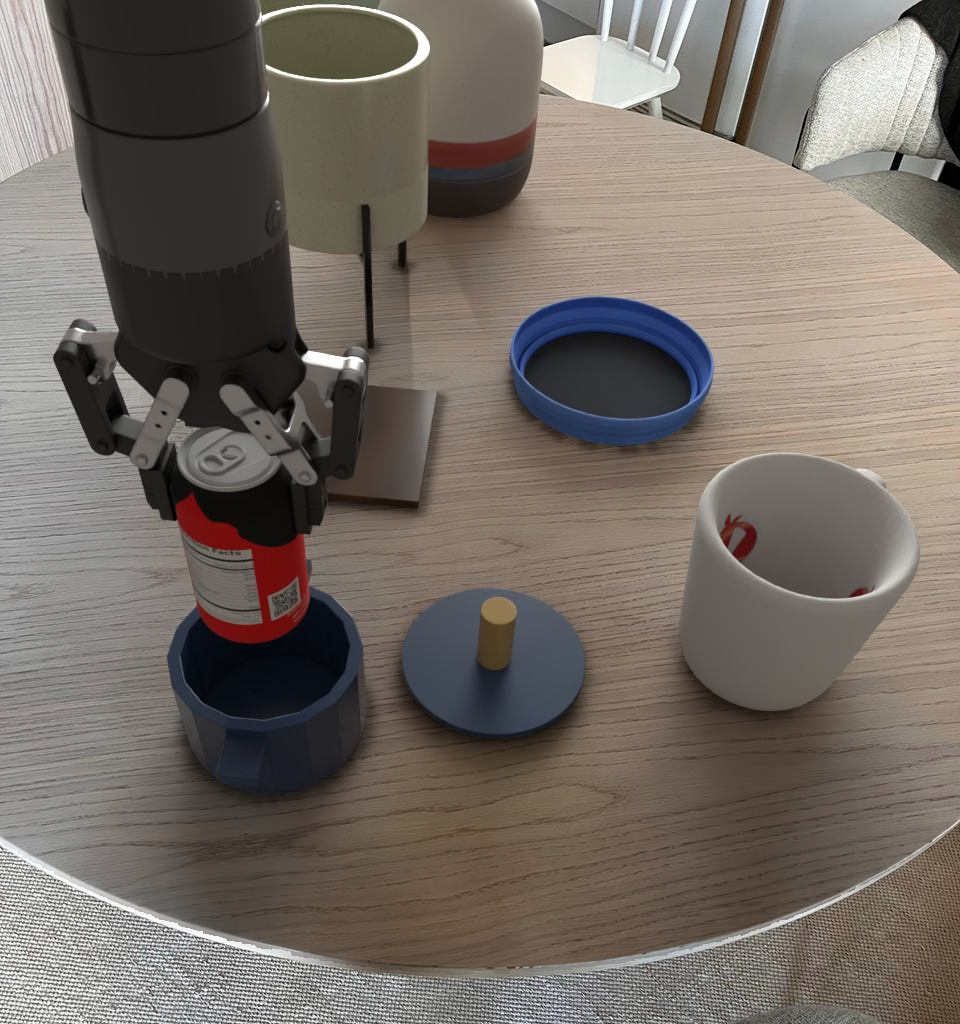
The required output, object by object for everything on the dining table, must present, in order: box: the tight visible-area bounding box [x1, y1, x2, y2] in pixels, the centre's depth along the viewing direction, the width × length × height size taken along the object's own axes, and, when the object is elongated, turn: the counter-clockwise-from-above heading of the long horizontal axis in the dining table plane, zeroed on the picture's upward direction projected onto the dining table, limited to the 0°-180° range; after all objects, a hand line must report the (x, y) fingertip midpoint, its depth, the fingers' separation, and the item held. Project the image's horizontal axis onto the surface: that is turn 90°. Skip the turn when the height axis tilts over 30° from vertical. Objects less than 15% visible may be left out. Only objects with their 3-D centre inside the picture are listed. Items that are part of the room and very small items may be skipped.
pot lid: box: [401, 587, 587, 740], centre depth 69 cm, size 13×13×6 cm
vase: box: [376, 0, 545, 220], centre depth 103 cm, size 17×17×24 cm
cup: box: [678, 451, 921, 712], centre depth 69 cm, size 18×14×14 cm
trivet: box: [296, 380, 438, 510], centre depth 85 cm, size 14×14×1 cm
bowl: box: [508, 295, 715, 447], centre depth 91 cm, size 18×18×4 cm
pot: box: [166, 558, 367, 795], centre depth 65 cm, size 12×17×7 cm
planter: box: [261, 4, 430, 350], centre depth 89 cm, size 15×16×23 cm
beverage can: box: [170, 426, 310, 643], centre depth 54 cm, size 6×6×12 cm
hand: (239, 515), depth 53 cm, fingers closed on beverage can, 6 cm apart
